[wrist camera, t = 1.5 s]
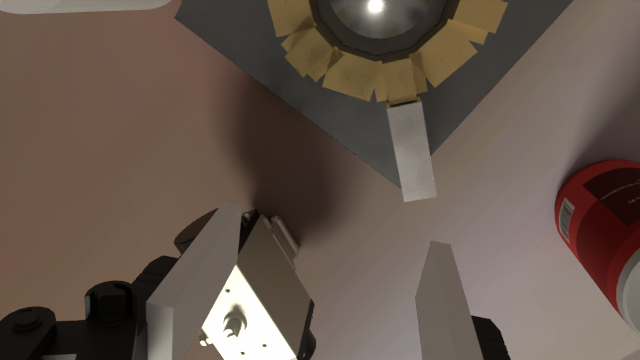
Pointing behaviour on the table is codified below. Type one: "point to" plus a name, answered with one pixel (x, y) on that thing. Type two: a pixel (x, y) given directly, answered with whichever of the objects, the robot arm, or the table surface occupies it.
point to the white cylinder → (76, 5)
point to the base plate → (376, 39)
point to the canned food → (606, 230)
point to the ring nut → (389, 71)
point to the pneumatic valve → (258, 295)
